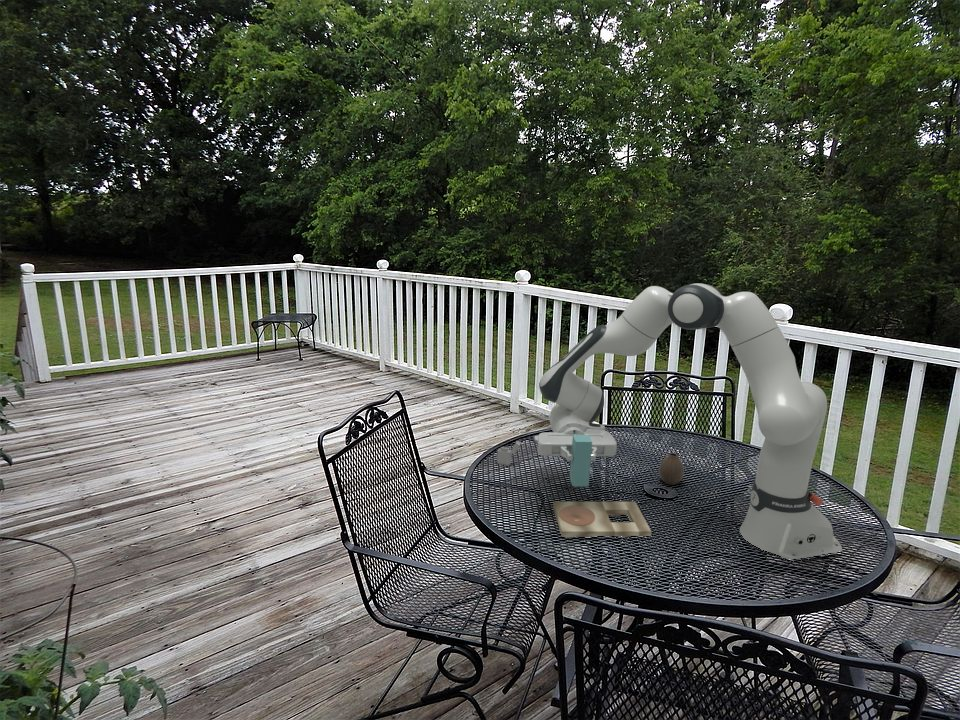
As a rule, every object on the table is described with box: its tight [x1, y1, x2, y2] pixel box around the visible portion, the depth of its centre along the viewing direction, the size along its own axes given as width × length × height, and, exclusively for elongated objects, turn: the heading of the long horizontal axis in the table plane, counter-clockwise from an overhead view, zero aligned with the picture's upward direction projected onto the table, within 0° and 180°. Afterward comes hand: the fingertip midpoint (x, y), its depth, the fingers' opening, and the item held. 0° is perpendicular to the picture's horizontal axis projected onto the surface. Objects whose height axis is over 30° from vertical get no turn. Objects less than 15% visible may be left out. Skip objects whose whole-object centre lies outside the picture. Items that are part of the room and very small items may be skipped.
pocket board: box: [552, 501, 652, 537], centre depth 146 cm, size 22×14×2 cm, turn 92°
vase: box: [658, 452, 685, 486], centre depth 167 cm, size 7×7×9 cm
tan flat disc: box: [559, 506, 595, 526], centre depth 146 cm, size 9×9×1 cm
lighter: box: [496, 440, 522, 466], centre depth 176 cm, size 7×2×8 cm, turn 72°
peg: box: [569, 435, 592, 487], centre depth 141 cm, size 4×4×12 cm
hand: (581, 458), depth 140 cm, fingers closed on peg, 4 cm apart
